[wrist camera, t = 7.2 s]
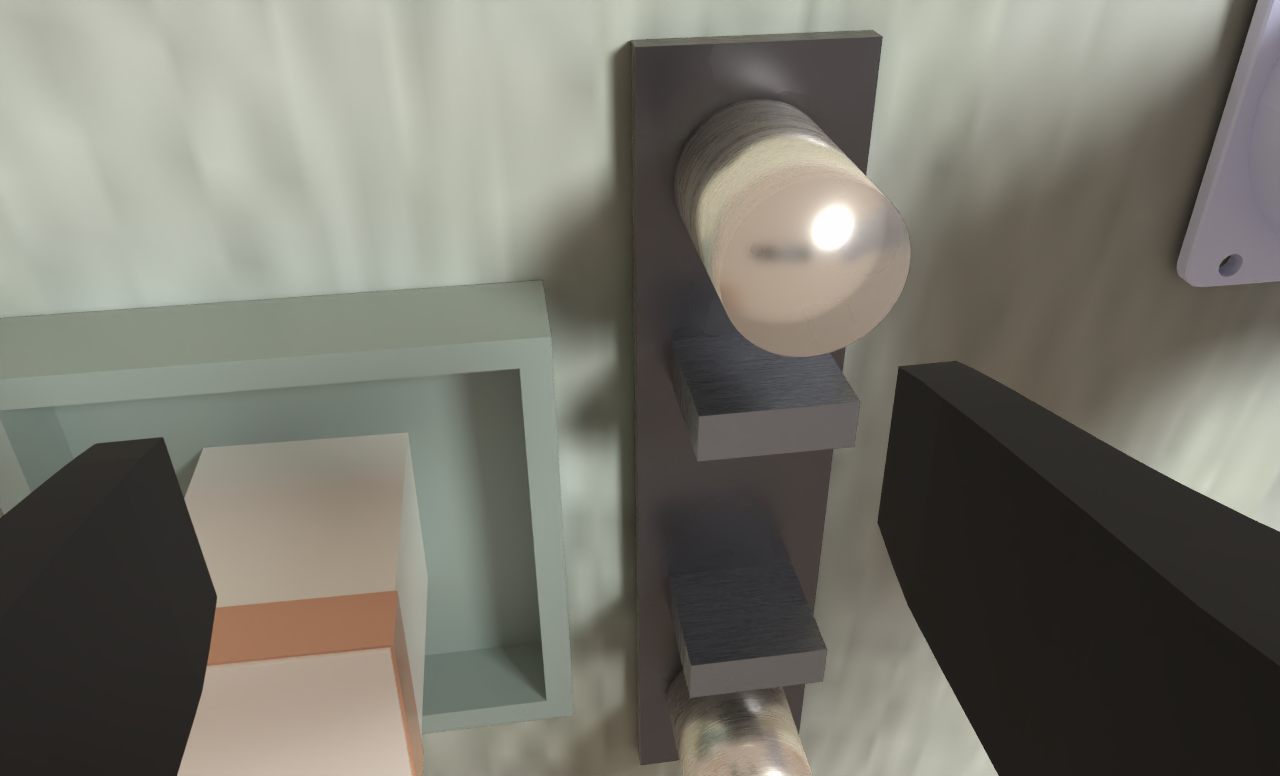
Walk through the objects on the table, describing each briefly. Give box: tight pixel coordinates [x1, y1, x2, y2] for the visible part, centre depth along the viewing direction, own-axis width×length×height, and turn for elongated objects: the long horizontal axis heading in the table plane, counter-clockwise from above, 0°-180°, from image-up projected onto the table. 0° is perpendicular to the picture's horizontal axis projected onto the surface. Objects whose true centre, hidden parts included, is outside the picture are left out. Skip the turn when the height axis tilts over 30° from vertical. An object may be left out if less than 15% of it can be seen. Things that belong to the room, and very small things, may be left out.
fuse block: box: [631, 30, 911, 776], centre depth 21 cm, size 4×19×4 cm, turn 1°
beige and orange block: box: [177, 433, 428, 776], centre depth 19 cm, size 4×4×6 cm
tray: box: [0, 280, 574, 734], centre depth 21 cm, size 10×10×2 cm
